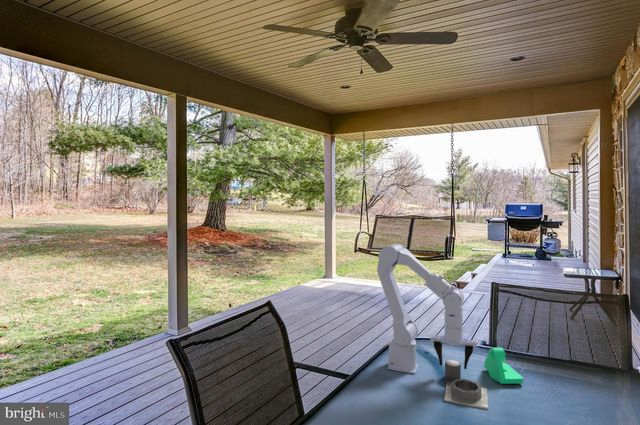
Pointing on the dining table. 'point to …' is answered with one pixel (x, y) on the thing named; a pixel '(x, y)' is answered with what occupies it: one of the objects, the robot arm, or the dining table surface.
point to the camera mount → (501, 367)
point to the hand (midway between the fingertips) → (453, 366)
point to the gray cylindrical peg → (452, 370)
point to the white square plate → (466, 393)
